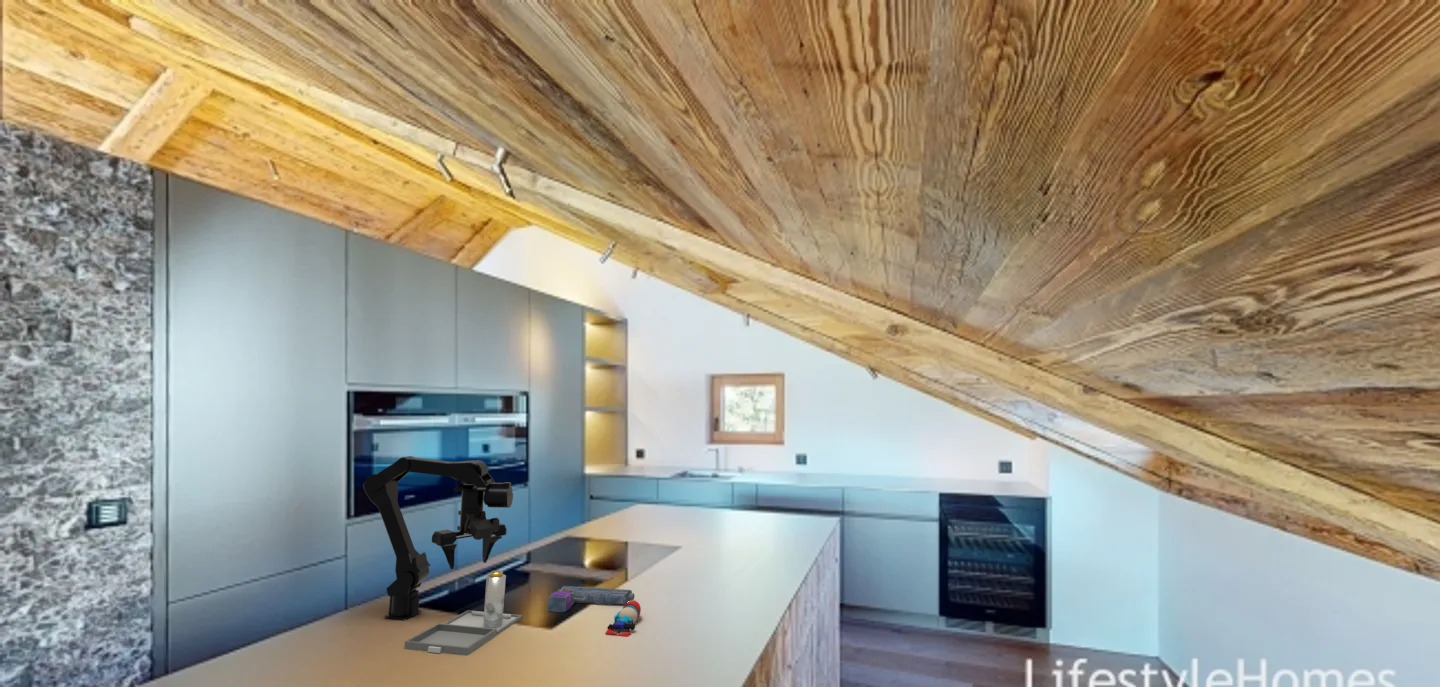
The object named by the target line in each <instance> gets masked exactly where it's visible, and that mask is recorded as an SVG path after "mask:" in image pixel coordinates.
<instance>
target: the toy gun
mask: <svg viewBox="0 0 1440 687" xmlns="http://www.w3.org/2000/svg"><path fill="white" fill-rule="evenodd" d="M547 598H548V599H547V612H554V613H555V612H556V613H564V612H567V611H568V610H570V609H571V608H572V606H573V605H574V604H575V603H578V604H588V603H590V604H593V605H594V604H598V605H604V604H605V605H608V606H609V605H614V604H615V605H626V603H627V602H628V601H630V600H631V601H635V600H634V599H635V593H634V592H633V591H632V590H631V589H624V588H623V589H622V588H621V589H620V588H605V587H601V588H600V587H591V586H590V587H587V586H571V585H563V586H562V587H561V589H559V588H558V589H557V590H556V591H554V592H552V593H551V594H550V595H549V596H548V597H547Z"/></svg>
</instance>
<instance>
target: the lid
mask: <svg viewBox="0 0 1440 687" xmlns="http://www.w3.org/2000/svg"><path fill="white" fill-rule="evenodd" d="M521 619H523V614H513V613H512V614H511V613H503V623H502V626H500V627H498V628H494V629H497V636H498V635H500V634H501V633H502V632H504V631H505V630H507V629H509V628H510V627H511V626H513V625H514V624H516V623H517V622H519V621H520V620H521ZM483 620H484V611H478V610H471V609H470V610H469V609H468V610H465V611H464V612H462V613H461V614H459V615H457V616H455V617H453V618H451V619H450V620H448V621H446V622H444V623H443V624H453V625H463V626H474V627H483Z"/></svg>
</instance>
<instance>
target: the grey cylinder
mask: <svg viewBox="0 0 1440 687" xmlns="http://www.w3.org/2000/svg"><path fill="white" fill-rule="evenodd" d="M503 573H504V571H503V570H491V571H490V573H489V574H488V575H487V576H486V581H485V582H486V583H485V595H484V596H485V597H484V608H483V609H484V610H483V612H484V620H483V627H484V628H498V627H500V626H502V623H503V614H504V606H505V595H506V594H505V592H506V578H507V575H506V574H503Z"/></svg>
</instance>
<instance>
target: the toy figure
mask: <svg viewBox="0 0 1440 687" xmlns="http://www.w3.org/2000/svg"><path fill="white" fill-rule="evenodd" d="M641 607H642V606H641V605H640V603H639V602H638V601H637V600H631V601H630V602H628V603H627V604H624V606H623V607H622V609H621V610H619V611H618V612H617V613H616V614H615V615H614V618H613V619H614V622H613V623H609V624H608V625H607V627H606V629H607V630H606V632H605V633H604V634H605V635H606V636H607V635H609V636H617V637H622V638H623V637H625V638H627V637H628V638H629V637H630V636H631V634H632V631H634V630H635V629H636V624H635V622H636V621H638V619H639V617H640V615H641V609H642V608H641ZM616 631H617V632H616ZM621 631H626V632H621ZM627 631H628V632H627ZM620 632H621V633H620Z"/></svg>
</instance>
